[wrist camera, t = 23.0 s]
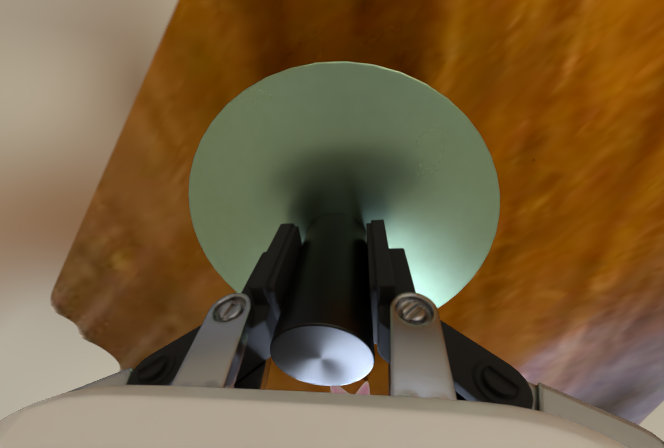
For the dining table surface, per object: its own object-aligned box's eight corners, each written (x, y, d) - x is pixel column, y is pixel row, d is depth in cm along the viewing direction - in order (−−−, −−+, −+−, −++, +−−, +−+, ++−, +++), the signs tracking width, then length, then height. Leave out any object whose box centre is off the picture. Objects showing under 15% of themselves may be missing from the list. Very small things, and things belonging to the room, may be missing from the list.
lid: (150, 84, 10) (-152, 97, 4) (530, 37, 9) (974, -58, 2) (245, 316, 18) (186, 444, 12) (460, 318, 16) (525, 470, 10)
